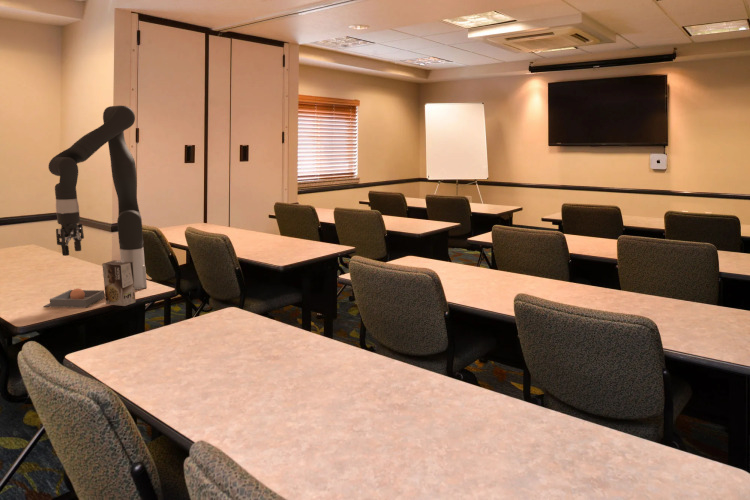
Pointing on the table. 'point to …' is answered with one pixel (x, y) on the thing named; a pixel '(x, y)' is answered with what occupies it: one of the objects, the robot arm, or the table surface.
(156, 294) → the table surface
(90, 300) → the bin
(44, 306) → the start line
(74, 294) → the ball
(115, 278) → the coffee box
